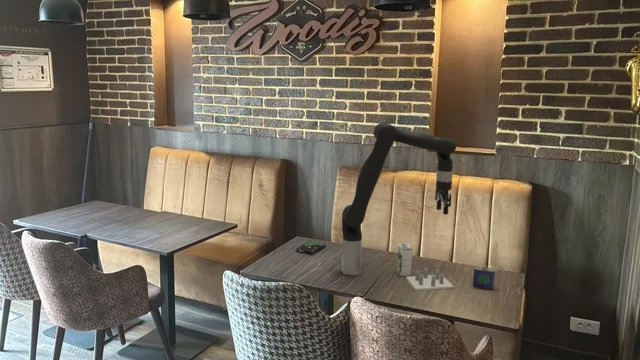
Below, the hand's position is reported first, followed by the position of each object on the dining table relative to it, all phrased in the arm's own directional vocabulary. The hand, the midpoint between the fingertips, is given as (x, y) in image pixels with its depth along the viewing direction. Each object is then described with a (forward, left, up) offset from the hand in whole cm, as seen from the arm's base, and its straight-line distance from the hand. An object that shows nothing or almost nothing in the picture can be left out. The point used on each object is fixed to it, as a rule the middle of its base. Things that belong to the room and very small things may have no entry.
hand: (442, 211), depth 257 cm
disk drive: (-60, +35, -30) cm, 75 cm away
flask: (+11, -26, -29) cm, 41 cm away
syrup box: (-20, -5, -29) cm, 36 cm away
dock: (-12, -18, -29) cm, 36 cm away
